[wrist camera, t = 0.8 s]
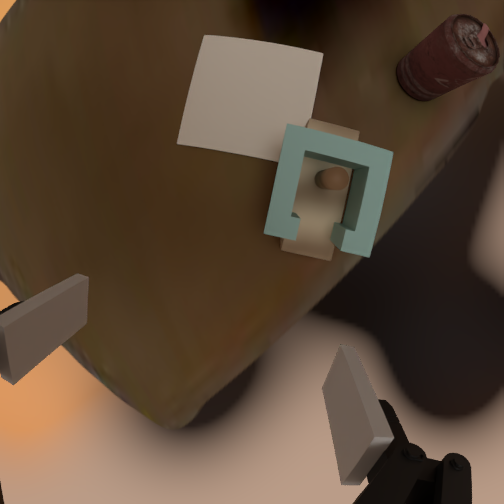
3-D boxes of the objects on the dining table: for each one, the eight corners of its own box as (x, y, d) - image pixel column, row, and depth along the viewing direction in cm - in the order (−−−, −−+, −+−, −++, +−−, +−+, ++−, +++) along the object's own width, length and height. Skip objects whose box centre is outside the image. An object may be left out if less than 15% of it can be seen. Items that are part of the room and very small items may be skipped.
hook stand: (304, 127, 33) (319, 101, 22) (347, 138, 33) (381, 119, 22) (279, 241, 36) (283, 267, 24) (323, 250, 36) (344, 280, 24)
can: (444, 74, 30) (507, 39, 16) (429, 111, 31) (496, 84, 17) (405, 46, 30) (457, -3, 16) (388, 83, 31) (442, 39, 17)
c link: (284, 133, 28) (287, 123, 24) (375, 156, 28) (393, 152, 23) (265, 225, 30) (263, 233, 25) (354, 245, 30) (369, 257, 25)
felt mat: (204, 35, 31) (204, 34, 31) (322, 54, 31) (323, 53, 30) (177, 144, 34) (176, 143, 34) (300, 167, 34) (301, 166, 34)
